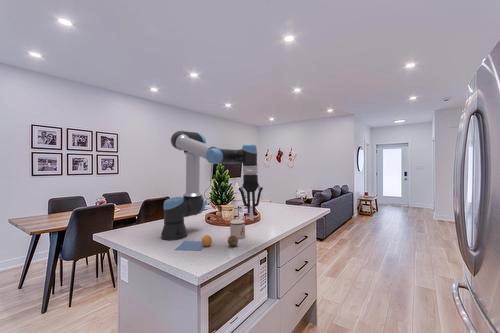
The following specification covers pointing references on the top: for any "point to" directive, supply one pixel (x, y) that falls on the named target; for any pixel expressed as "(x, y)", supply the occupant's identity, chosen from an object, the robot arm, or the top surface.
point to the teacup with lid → (237, 228)
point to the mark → (191, 245)
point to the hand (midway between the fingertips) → (251, 219)
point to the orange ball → (206, 240)
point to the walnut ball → (232, 240)
